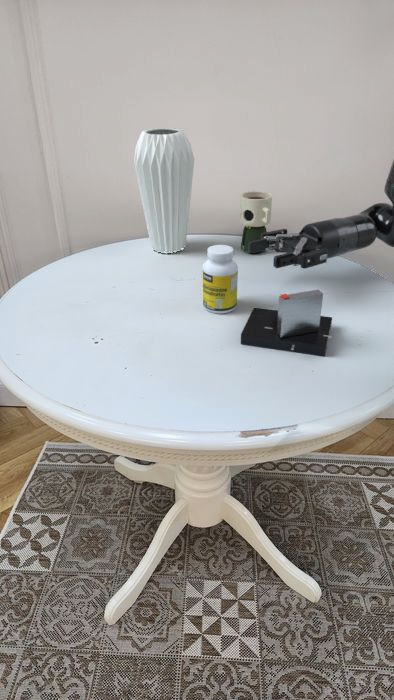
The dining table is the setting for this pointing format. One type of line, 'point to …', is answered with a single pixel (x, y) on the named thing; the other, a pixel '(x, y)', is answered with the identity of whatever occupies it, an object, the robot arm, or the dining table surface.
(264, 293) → the dining table surface
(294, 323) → the grey battery block
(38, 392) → the dining table surface
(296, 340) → the black base plate
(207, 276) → the pill bottle
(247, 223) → the character mug
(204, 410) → the dining table surface
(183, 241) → the vase
